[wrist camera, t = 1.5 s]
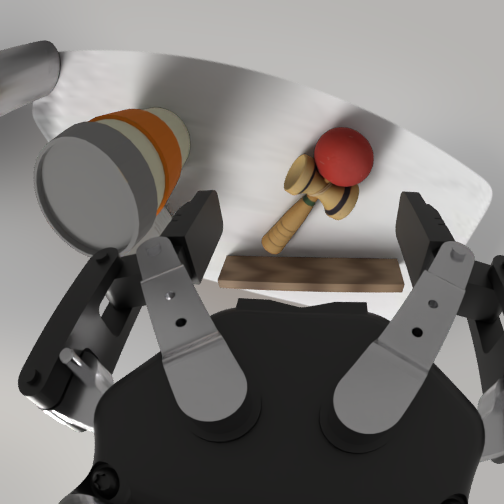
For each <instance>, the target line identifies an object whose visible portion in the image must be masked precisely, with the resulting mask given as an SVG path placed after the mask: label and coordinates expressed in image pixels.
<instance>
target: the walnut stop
mask: <svg viewBox="0 0 504 504" xmlns="http://www.w3.org/2000/svg"><path fill="white" fill-rule="evenodd" d="M218 283H219V287H220V288H234V289H255V290H280V291H313V292H402V291H403V288H404V281H403V277H402V274H401V270H400V267H399V263H398V260H397V259H375V258H316V257H264V256H227V257H226V259H225V262H224V265H223V267H222V270H221V273H220V275H219V278H218Z"/></svg>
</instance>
